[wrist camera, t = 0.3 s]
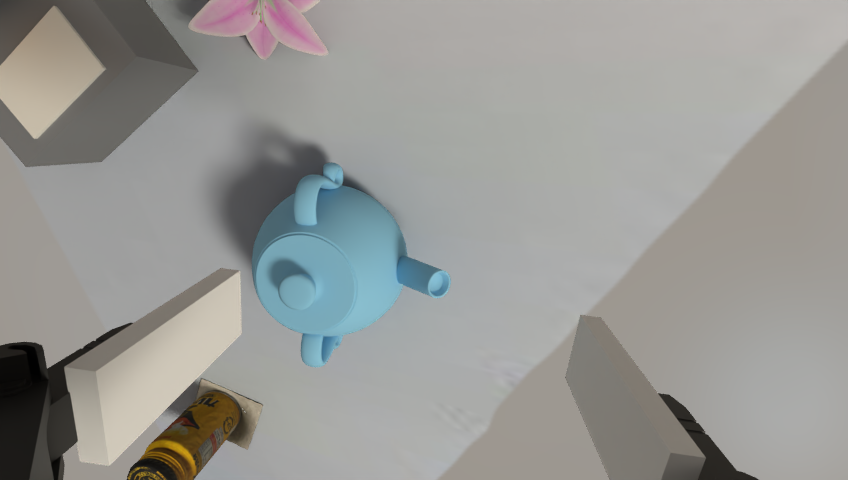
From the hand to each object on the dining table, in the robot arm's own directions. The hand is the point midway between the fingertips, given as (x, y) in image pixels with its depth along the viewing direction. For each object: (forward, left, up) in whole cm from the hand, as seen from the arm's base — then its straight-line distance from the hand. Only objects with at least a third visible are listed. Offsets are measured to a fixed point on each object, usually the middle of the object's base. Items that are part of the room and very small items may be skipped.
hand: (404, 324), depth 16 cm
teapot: (+7, -8, -28) cm, 30 cm away
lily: (-15, -19, -28) cm, 37 cm away
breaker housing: (-11, -41, -28) cm, 51 cm away
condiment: (+32, -23, -28) cm, 48 cm away
